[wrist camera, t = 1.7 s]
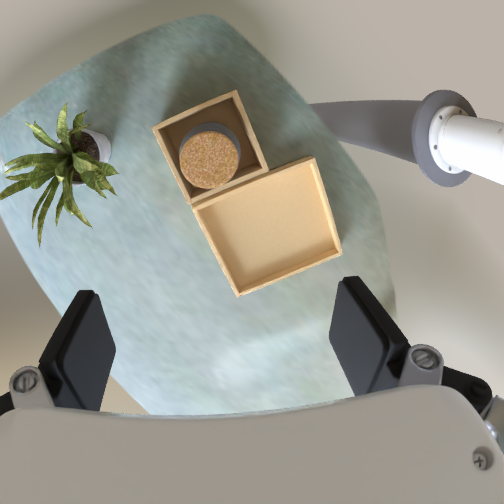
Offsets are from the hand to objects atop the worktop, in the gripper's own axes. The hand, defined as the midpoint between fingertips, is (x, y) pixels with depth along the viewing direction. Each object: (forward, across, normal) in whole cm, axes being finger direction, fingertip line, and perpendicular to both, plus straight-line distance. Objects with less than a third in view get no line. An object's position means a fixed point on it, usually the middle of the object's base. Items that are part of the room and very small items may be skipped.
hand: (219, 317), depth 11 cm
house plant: (+31, +18, -3) cm, 35 cm away
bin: (+30, 0, -4) cm, 31 cm away
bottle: (+30, 0, -4) cm, 30 cm away
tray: (+30, -8, +8) cm, 32 cm away
